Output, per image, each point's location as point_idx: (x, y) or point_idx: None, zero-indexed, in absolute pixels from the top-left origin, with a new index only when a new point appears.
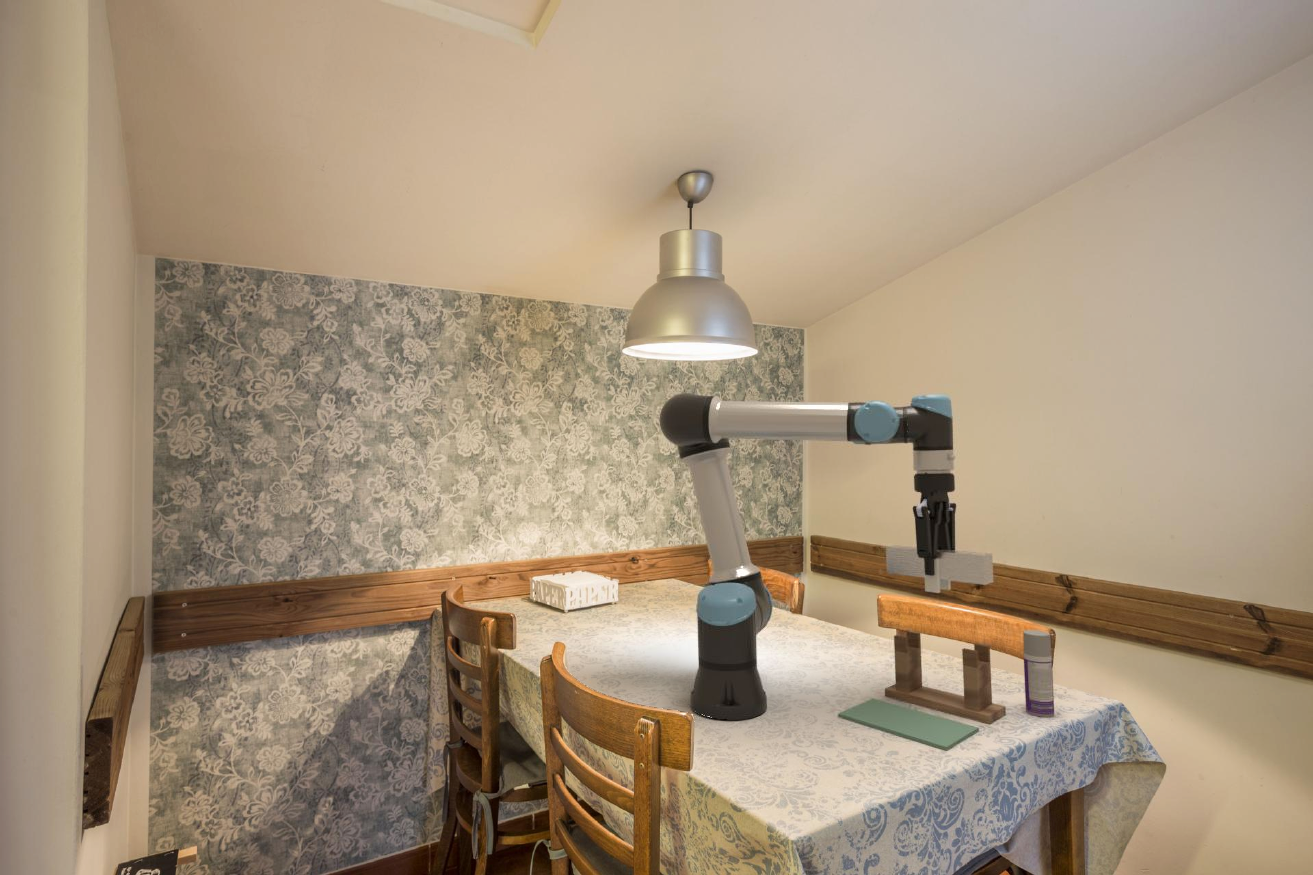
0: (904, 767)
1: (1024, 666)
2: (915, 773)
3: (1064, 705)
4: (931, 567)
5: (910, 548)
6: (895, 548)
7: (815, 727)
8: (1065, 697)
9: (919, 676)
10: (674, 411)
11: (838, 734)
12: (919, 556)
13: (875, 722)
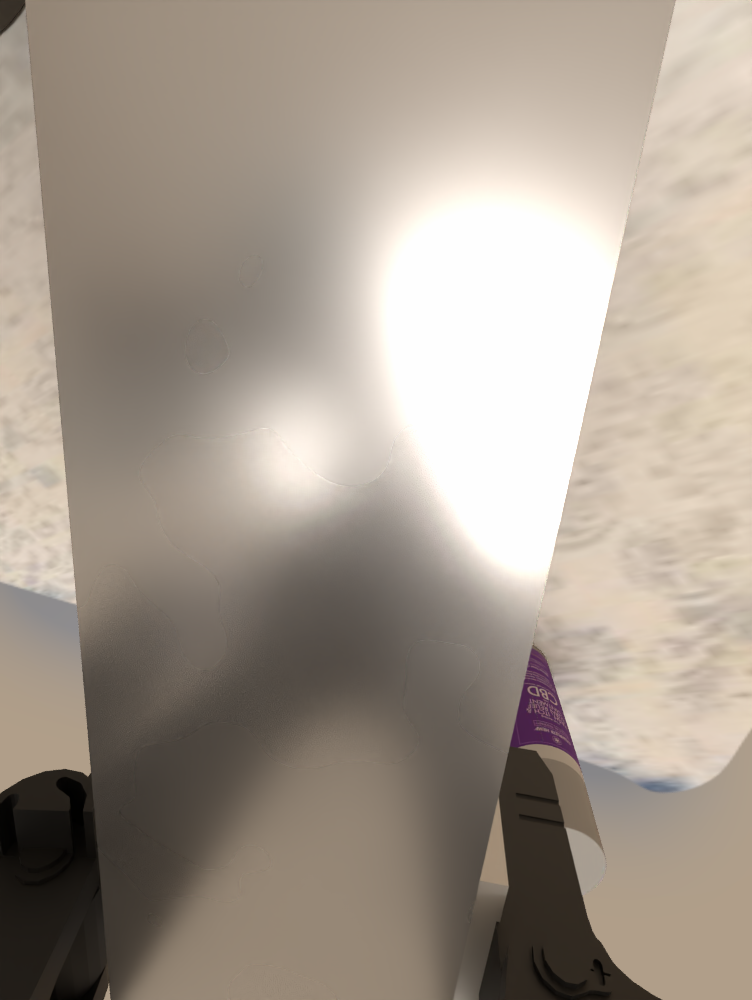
0: (8, 521)
1: (515, 725)
2: (3, 546)
3: (613, 705)
4: None
5: (188, 648)
6: (65, 268)
7: (20, 253)
8: (690, 700)
9: None
10: None
11: (32, 328)
12: (19, 797)
13: None
